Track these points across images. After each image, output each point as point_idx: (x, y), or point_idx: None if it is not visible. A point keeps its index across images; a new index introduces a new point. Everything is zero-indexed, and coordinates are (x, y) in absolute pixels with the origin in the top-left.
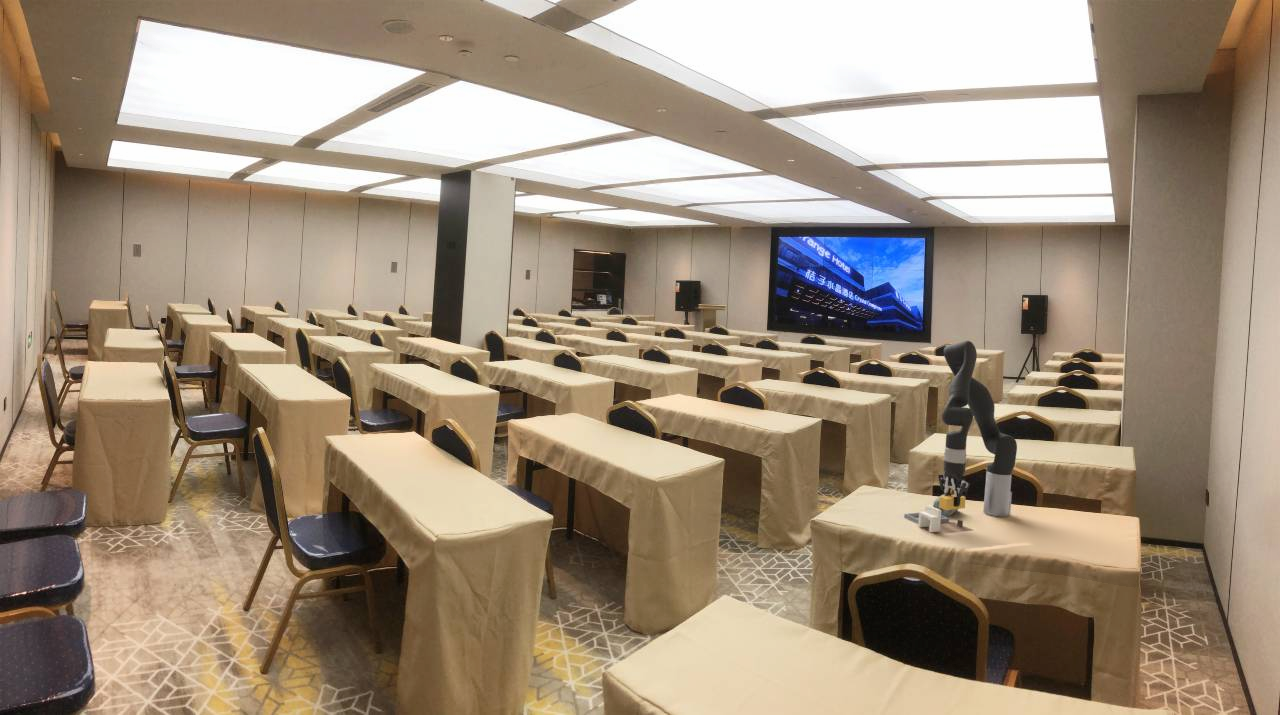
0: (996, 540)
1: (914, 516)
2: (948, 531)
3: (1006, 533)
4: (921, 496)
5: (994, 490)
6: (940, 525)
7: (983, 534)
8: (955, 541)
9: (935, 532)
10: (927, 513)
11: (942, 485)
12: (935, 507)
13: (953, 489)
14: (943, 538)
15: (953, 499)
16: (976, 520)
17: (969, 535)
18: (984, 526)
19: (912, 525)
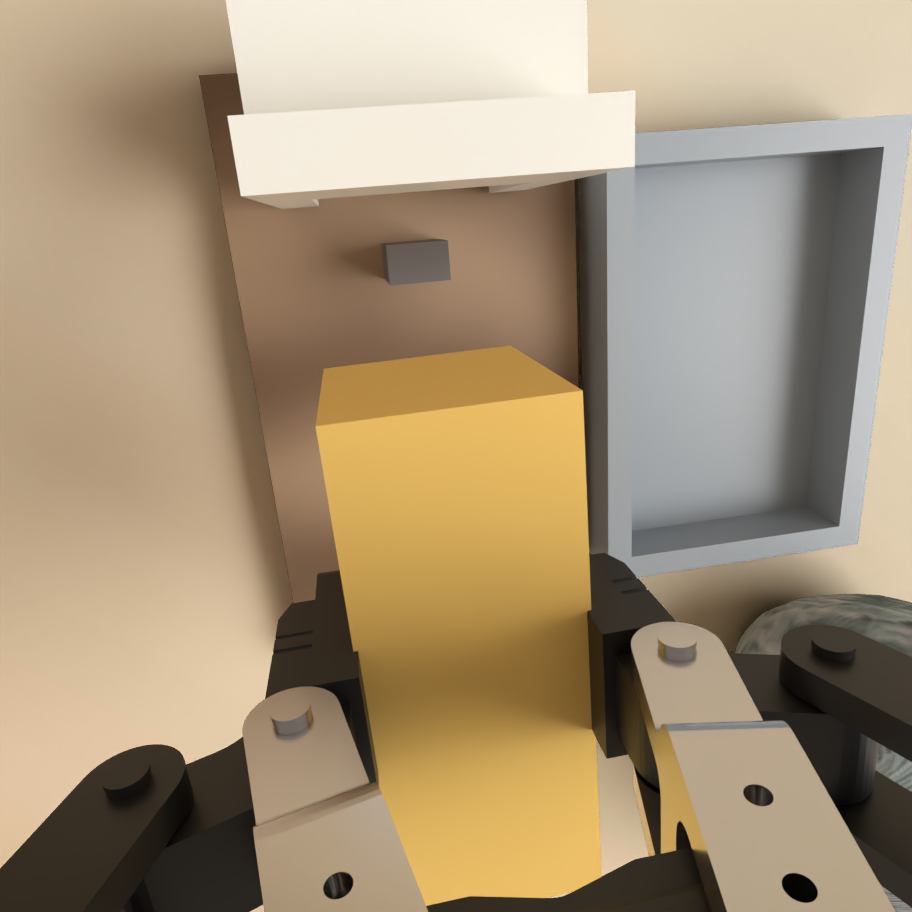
0: (58, 728)
1: (843, 269)
2: (287, 342)
3: (259, 907)
4: None
5: None
6: None
7: (249, 707)
8: (15, 247)
9: None
10: (469, 61)
11: (906, 727)
12: (889, 606)
13: (339, 811)
14: (137, 159)
15: (350, 625)
16: (618, 850)
17: (229, 554)
18: None
19: (656, 84)
